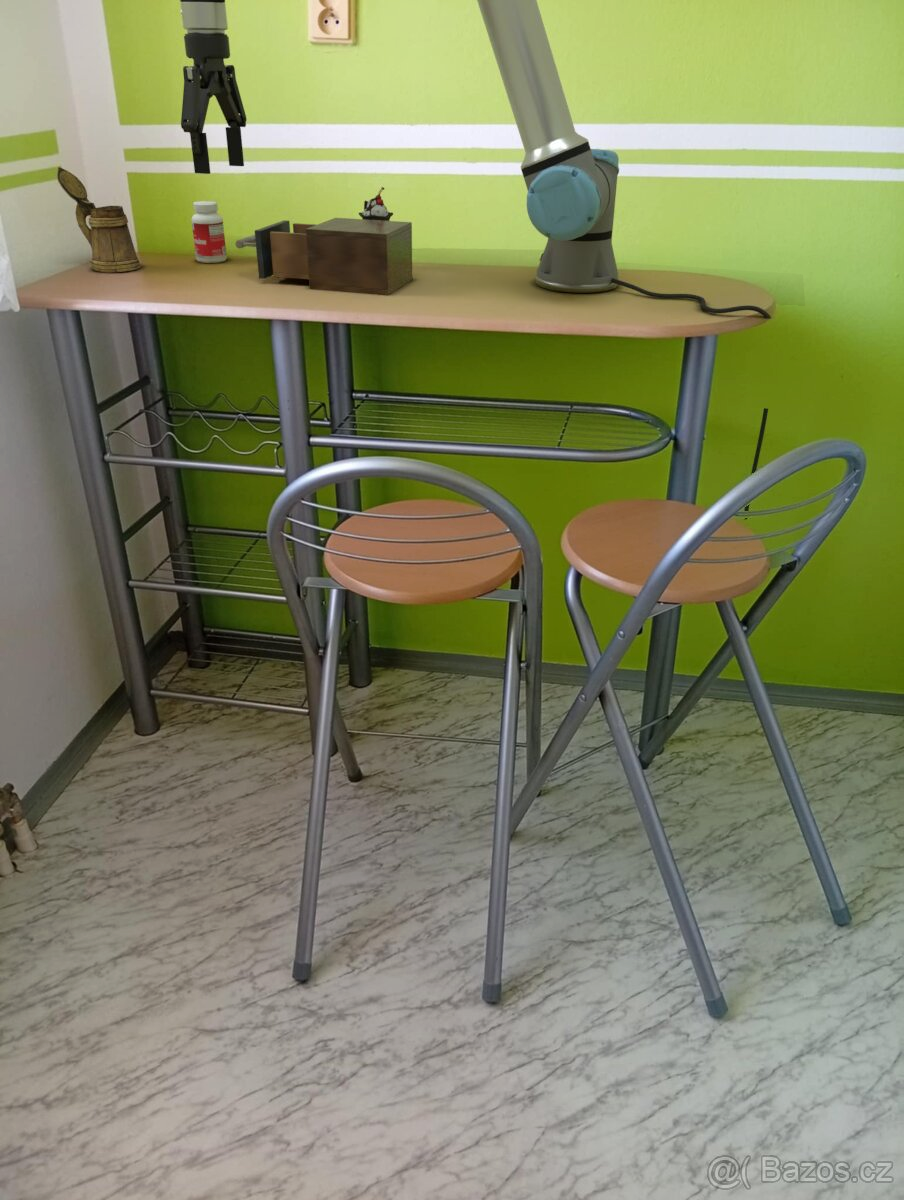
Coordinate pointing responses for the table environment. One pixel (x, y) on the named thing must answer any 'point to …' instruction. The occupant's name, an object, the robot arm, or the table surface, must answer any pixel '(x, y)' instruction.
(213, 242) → the pill bottle
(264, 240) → the drawer
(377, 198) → the sundae
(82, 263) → the table surface
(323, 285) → the cabinet
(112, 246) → the wooden mug
